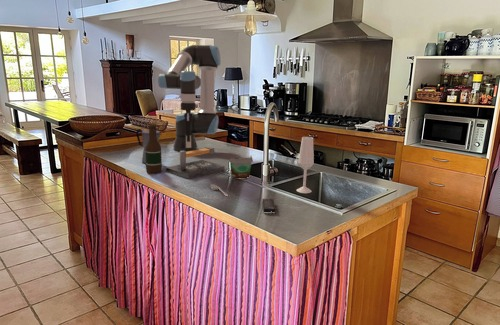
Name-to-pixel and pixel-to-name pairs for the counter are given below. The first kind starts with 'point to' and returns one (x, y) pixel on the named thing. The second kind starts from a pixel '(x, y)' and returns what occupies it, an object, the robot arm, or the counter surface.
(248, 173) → the food container
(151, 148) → the beer bottle
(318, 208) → the counter surface
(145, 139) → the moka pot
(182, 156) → the hammer
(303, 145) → the champagne flute
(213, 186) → the spoon
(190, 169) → the plate
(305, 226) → the counter surface
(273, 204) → the multiport hub
